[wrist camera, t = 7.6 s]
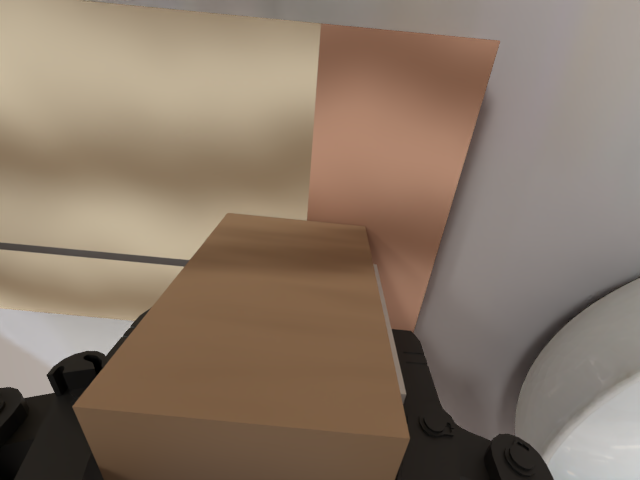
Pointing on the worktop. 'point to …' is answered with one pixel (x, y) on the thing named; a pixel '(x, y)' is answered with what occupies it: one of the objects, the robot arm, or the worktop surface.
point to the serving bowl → (588, 393)
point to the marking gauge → (256, 365)
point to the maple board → (217, 144)
